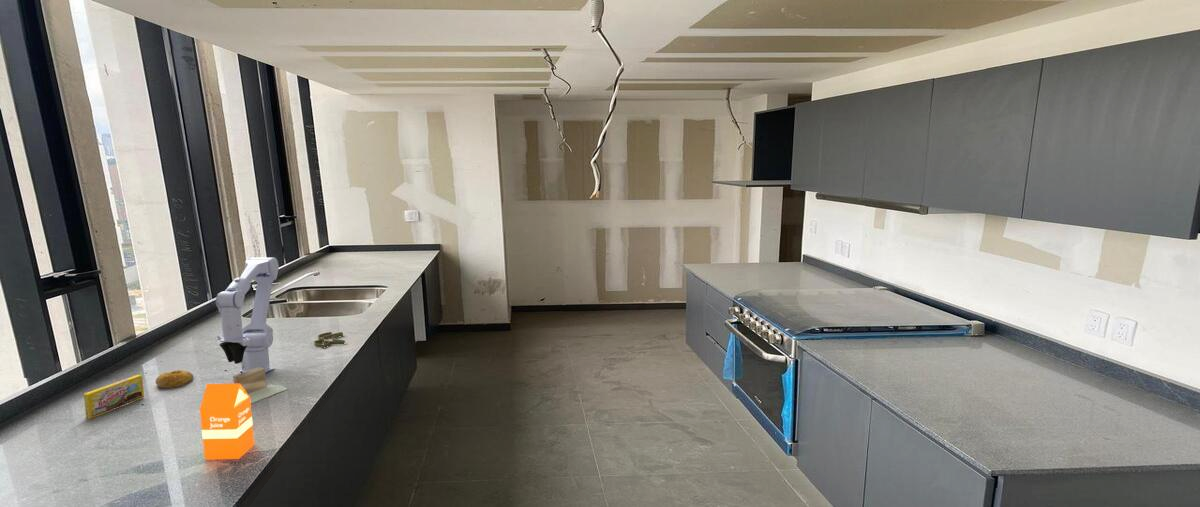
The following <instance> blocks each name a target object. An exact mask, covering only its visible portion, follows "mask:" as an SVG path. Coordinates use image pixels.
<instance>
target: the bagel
mask: <svg viewBox="0 0 1200 507" xmlns="http://www.w3.org/2000/svg"><path fill="white" fill-rule="evenodd" d="M193 379H194V374H193V373H191V372H190V371H186V370H179V369H178V370H173V371H170V372H164V373H161V374H160V375H158V376H157V377H156V379H155V384H156V385H157V386H158V387H160V388H161V389H172V388H171V387H173V388H177V386H178V387H181V385H182V386H185V385H187V384H189V382H191V381H192V380H193Z"/></svg>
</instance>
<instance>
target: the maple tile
mask: <svg viewBox="0 0 1200 507" xmlns="http://www.w3.org/2000/svg"><path fill="white" fill-rule="evenodd" d="M232 378H233V384H240V385H241V386H242V387H243V389H244V390H245V391H246V393H247V394H248V393H251V392H254V391H256V390H259V389H262V388H264V387H267V384H266V381H267V380H266V372H265V369H264V368H260V367H258V368H255V369H252V370H249V371H246V372H240V373H238V374H235V375H232Z"/></svg>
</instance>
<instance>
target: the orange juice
mask: <svg viewBox="0 0 1200 507" xmlns="http://www.w3.org/2000/svg"><path fill="white" fill-rule="evenodd" d="M199 407H200V408H199V413H200V414H199V415H200V426H201V436H202V443H203V453H204V460H205V459H206V460H238V459H240V458H242V456H244V455H245V454H246V453H247V452H248V451H249V450H250V449H252V448H253V446H255V440H254V439H255V438H254V427H253V425H254V424H253V423H254V422H253V416H252V404H251V402H250V397H249V395H248V394H247V393H246V391H245V390H244V389H243V387H242V386H241V385H240V384H234V383H206V387H205V390H204V393H203V397H202V401H201V403H200V406H199Z"/></svg>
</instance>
